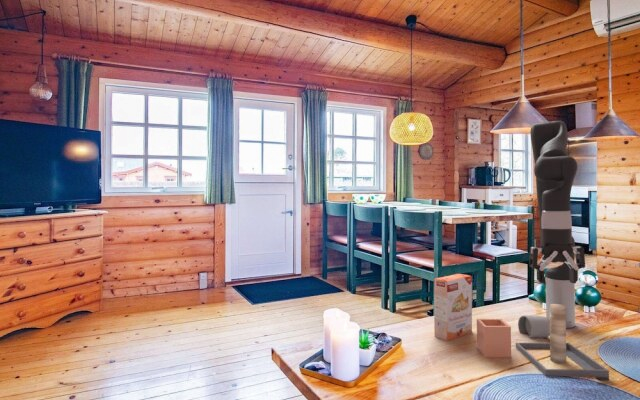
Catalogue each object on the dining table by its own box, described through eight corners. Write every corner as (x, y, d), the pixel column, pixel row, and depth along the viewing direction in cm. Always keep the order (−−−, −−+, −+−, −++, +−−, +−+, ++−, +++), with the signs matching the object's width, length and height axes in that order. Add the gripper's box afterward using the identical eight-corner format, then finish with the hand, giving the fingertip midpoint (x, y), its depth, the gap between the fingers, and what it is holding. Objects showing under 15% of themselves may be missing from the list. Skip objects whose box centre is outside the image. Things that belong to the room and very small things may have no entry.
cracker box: (448, 344, 136) (447, 280, 135) (433, 339, 140) (432, 278, 140) (473, 334, 144) (472, 275, 144) (458, 330, 149) (457, 272, 148)
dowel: (547, 358, 120) (547, 303, 120) (562, 358, 120) (561, 303, 120) (554, 364, 116) (553, 307, 116) (569, 364, 116) (568, 307, 116)
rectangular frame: (515, 350, 129) (515, 342, 129) (569, 350, 128) (568, 342, 128) (545, 379, 109) (545, 369, 109) (609, 380, 108) (608, 370, 108)
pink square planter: (477, 350, 130) (476, 318, 130) (502, 350, 129) (501, 318, 129) (484, 360, 122) (484, 326, 122) (511, 360, 122) (510, 326, 121)
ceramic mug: (554, 340, 137) (553, 317, 137) (531, 342, 135) (531, 319, 136) (533, 330, 147) (532, 309, 147) (512, 332, 146) (511, 310, 146)
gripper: (575, 225, 121) (576, 280, 121) (524, 226, 122) (525, 280, 122) (589, 227, 113) (590, 285, 114) (536, 228, 114) (537, 286, 115)
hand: (557, 283), depth 118 cm, fingers open, 8 cm apart
